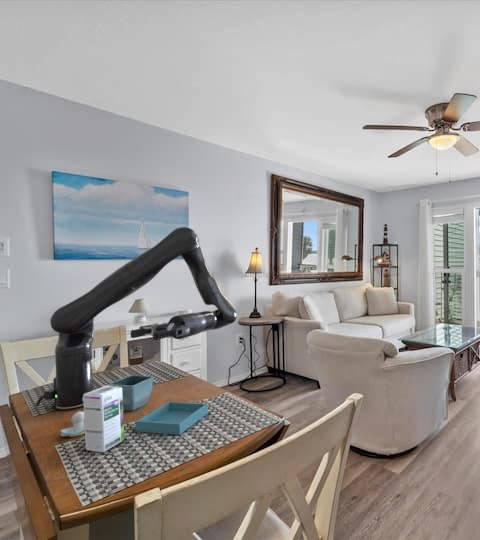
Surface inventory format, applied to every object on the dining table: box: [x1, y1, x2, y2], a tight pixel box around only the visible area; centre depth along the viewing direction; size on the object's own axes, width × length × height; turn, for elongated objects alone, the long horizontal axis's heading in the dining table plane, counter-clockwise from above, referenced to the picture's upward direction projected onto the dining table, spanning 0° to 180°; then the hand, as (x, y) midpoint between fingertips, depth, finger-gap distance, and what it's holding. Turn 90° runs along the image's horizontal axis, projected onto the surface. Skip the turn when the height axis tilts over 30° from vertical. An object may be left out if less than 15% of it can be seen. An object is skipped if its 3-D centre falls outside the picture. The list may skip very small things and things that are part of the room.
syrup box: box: [83, 385, 125, 453], centre depth 85 cm, size 6×6×14 cm
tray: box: [135, 401, 209, 436], centre depth 98 cm, size 13×13×3 cm
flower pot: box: [108, 374, 154, 412], centre depth 107 cm, size 9×9×9 cm
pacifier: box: [60, 411, 85, 438], centre depth 91 cm, size 7×6×6 cm
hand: (142, 335), depth 95 cm, fingers open, 8 cm apart
